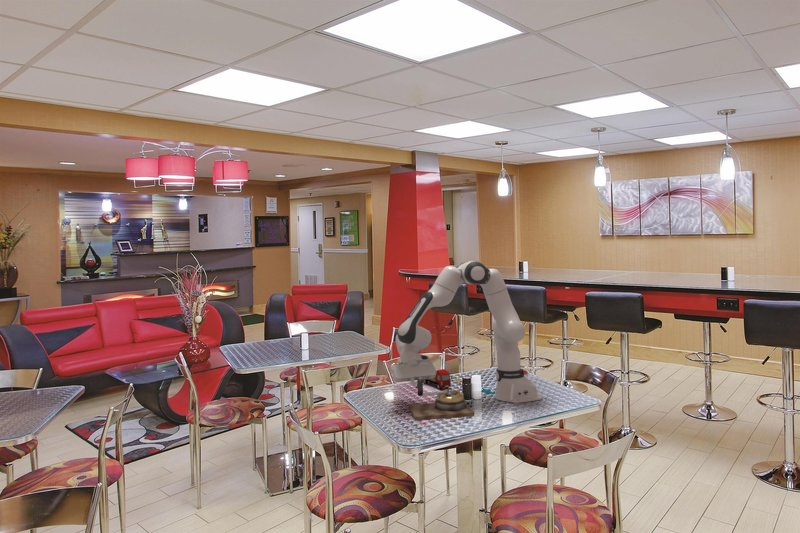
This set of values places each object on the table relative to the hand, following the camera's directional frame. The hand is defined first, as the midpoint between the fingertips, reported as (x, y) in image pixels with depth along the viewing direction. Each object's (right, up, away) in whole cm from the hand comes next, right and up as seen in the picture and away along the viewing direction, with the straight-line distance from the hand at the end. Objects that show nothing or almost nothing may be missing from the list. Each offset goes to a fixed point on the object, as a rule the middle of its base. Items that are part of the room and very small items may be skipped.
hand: (418, 387), depth 236 cm
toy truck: (+11, -10, +44) cm, 46 cm away
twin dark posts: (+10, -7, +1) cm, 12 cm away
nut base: (+10, -11, -1) cm, 15 cm away
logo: (+31, -9, +42) cm, 53 cm away
